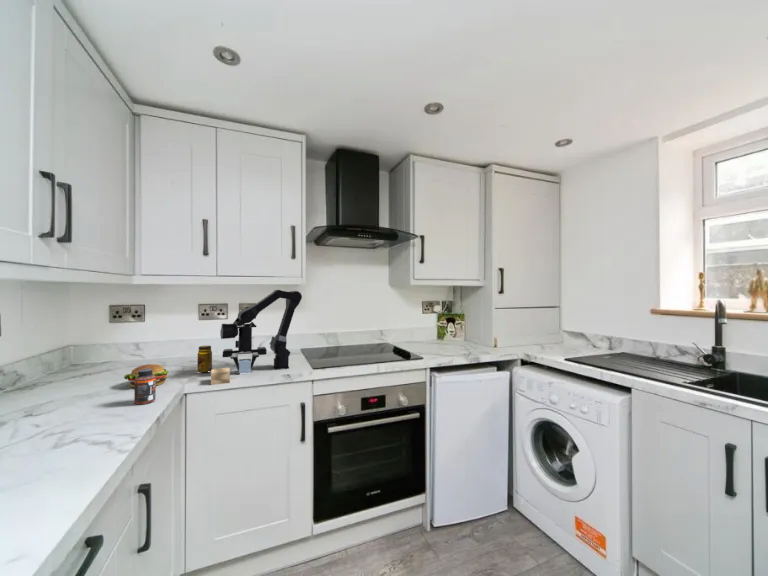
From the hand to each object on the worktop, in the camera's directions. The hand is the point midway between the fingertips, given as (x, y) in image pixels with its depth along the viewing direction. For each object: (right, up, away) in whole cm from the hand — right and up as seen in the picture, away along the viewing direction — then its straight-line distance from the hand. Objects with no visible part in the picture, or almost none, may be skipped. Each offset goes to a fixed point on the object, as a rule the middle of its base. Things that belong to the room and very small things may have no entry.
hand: (244, 370), depth 150 cm
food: (-32, -1, -18) cm, 37 cm away
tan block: (-4, -2, -14) cm, 15 cm away
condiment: (-20, -1, +2) cm, 20 cm away
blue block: (0, -1, 0) cm, 1 cm away
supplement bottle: (-18, -1, -38) cm, 43 cm away
